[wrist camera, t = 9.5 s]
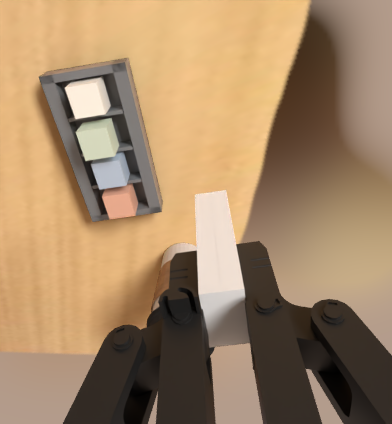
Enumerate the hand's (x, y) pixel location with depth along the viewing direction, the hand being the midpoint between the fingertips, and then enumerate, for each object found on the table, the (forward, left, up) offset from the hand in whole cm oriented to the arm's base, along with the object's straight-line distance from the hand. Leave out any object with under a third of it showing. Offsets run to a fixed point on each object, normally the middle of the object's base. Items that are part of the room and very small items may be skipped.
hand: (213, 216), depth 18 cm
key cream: (-1, -12, -25) cm, 28 cm away
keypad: (+5, -12, -26) cm, 29 cm away
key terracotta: (+11, -12, -25) cm, 30 cm away
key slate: (+7, -12, -25) cm, 28 cm away
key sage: (+3, -12, -24) cm, 27 cm away
